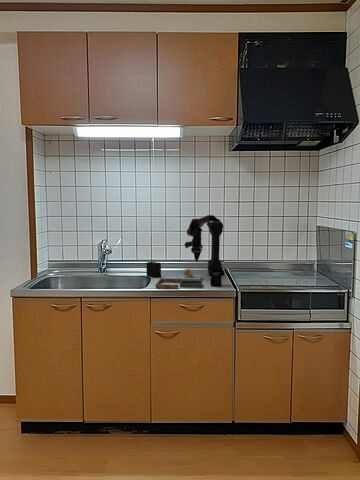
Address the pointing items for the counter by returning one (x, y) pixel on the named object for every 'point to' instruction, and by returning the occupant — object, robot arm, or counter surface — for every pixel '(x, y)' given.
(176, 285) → the cubby
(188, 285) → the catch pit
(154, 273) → the electronic device
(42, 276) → the counter surface
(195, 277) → the platform
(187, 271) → the beech cube
